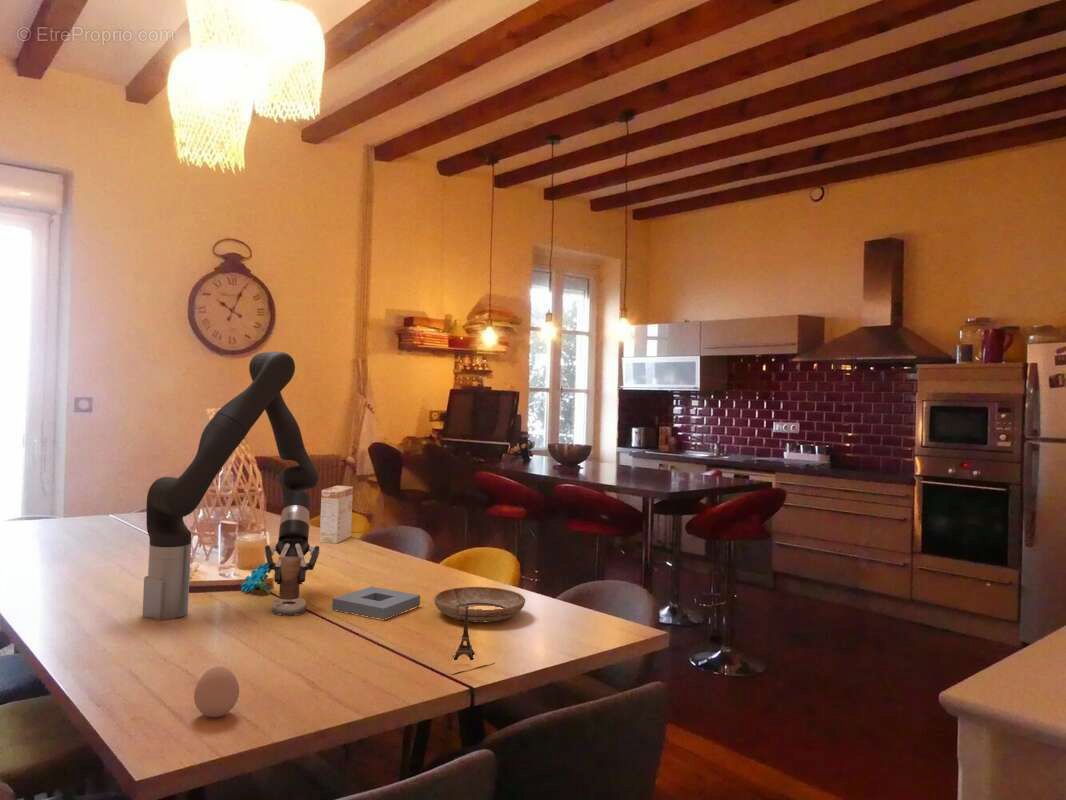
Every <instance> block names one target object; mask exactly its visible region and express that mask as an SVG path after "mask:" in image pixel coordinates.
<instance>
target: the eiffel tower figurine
mask: <svg viewBox="0 0 1066 800" xmlns="http://www.w3.org/2000/svg"><path fill="white" fill-rule="evenodd" d="M465 609H466V613H465V621H464V623H463V624H464V625H463V631H462V632H463V633H462V635H461V641H460V644H458V648H457V650H456V652H455V653H454V655H455V654H456V655H455V657H454V660H457V659H458V657H459V656H464V655H466V656H468V657H469V658H470V660H473V659H474V658H473V655H474V654H475V655H476V652H475V651H473V650H474V649H473V645H471V642H470V635H469V621H468V606H466V608H465ZM464 642H466V644H464Z"/></svg>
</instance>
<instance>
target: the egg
mask: <svg viewBox="0 0 1066 800" xmlns="http://www.w3.org/2000/svg"><path fill="white" fill-rule="evenodd" d="M193 693H194V694H193V699H194V700H193V701H194V704H195V708H196V709H197V710H198V711H199V712H200V713H201V714H203V715H204V716H206V717H208V718H221V717H223V716H225V715H226V714H228V713H229V712H231V710H232V709H233V708H234V707H235V705H236V704H237V702H238V699H239V697H240V685H239V681H238V679H237V677H236V675H235V674H234V672H232V670H230V669H229V668H227V667H224V666H214V667H211V668H210V669H208V670H206V671H205V672H204V673H203V674H202V676H201V677H200V678H199V680H198V682H197V684H196V686H195V688H194V692H193Z"/></svg>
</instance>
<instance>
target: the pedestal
mask: <svg viewBox="0 0 1066 800" xmlns="http://www.w3.org/2000/svg"><path fill="white" fill-rule="evenodd" d="M306 603H307V601H306V598H305V599H304V598H302V597H299V598H297V599H291V600H285V599H280V598H279V597H278V598H276V599H274V600H273V601H272V614H274V613H275V615H276V614H281V615H280V616H283V615H291V616H296V615H295V614H299V615H302V614H304V613H305V612H306V609H307V604H306ZM303 612H304V613H303ZM301 613H302V614H301Z"/></svg>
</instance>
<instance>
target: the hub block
mask: <svg viewBox="0 0 1066 800" xmlns="http://www.w3.org/2000/svg"><path fill="white" fill-rule="evenodd" d="M419 605H420V606H421V595H419V594H414V593H409V592H403V591H398V590H395V589H387V588H383V587H378V586H369V587H365V588H362V589H359V590H356V591H353V592H349V593H346V594H344V595H340V596H337V597H334V598H332V609H331V610H332V611H334V610H338V611H337V612H339V611H342V612H341V613H343V612H348V613H354V614H358V615H364V616H368V617H374V618H380V619H385V618H388V617H391V616H393V615H396V614H399V613H401V612H404V611H406V610H409V609H411V608H414V607H416V606H419ZM348 613H347V614H348ZM358 615H357V616H358ZM399 615H400V614H399ZM368 617H367V618H368Z"/></svg>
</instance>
